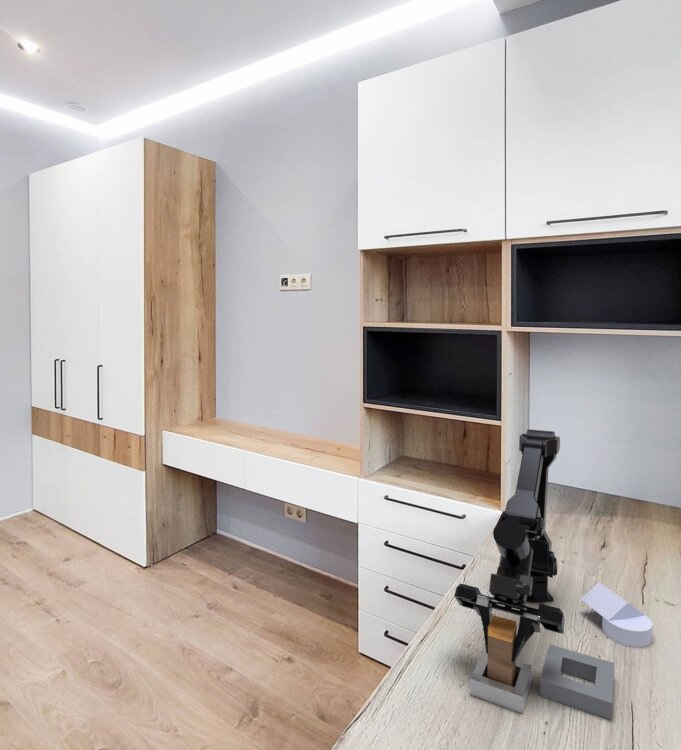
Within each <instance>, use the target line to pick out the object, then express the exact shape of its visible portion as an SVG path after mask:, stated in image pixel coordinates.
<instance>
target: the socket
mask: <svg viewBox="0 0 681 750" xmlns="http://www.w3.org/2000/svg"><path fill="white" fill-rule="evenodd" d="M563 674H568V675H570V676H574V677H576V678H577V677H578V678H580V679H582V680H583V679H584V680H587V681H590V682H594V685H590V684H588V683H585V682H580V681H578V680H576V679H575V680H574V679H572V678H569V677H565V676H563ZM614 679H615V662H612V661H609V660H605V659H601V658H599V657H595V656H593V655H592V656H591V655H589V654H585V653H580V652H579V651H578V652H577V651H574V650H571V649H568V648H564V647H563V648H562V647H560V646H556V645H553V644H548V649H547V652H546V656H545V661H544V664H543V668H542V673H541V676H540V680H539V696H540V697H542V698H545V699H548V700H551V701H554V702H557V703H560V704H563V705H565V706H569V707H572V708H575V709H577V710H581V711H583V712H586V713H588V714H592V715H595V716H598V717H602V718H604V719H607V720H610V721H612V718H613V705H614V704H613V702H614V681H615V680H614Z"/></svg>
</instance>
